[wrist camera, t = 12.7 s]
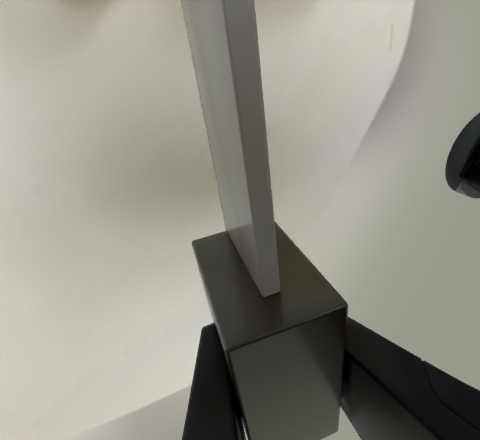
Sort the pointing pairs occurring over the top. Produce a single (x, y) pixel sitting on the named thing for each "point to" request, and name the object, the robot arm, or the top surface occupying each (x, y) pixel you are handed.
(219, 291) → the knife
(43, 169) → the top surface
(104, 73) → the top surface
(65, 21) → the top surface
